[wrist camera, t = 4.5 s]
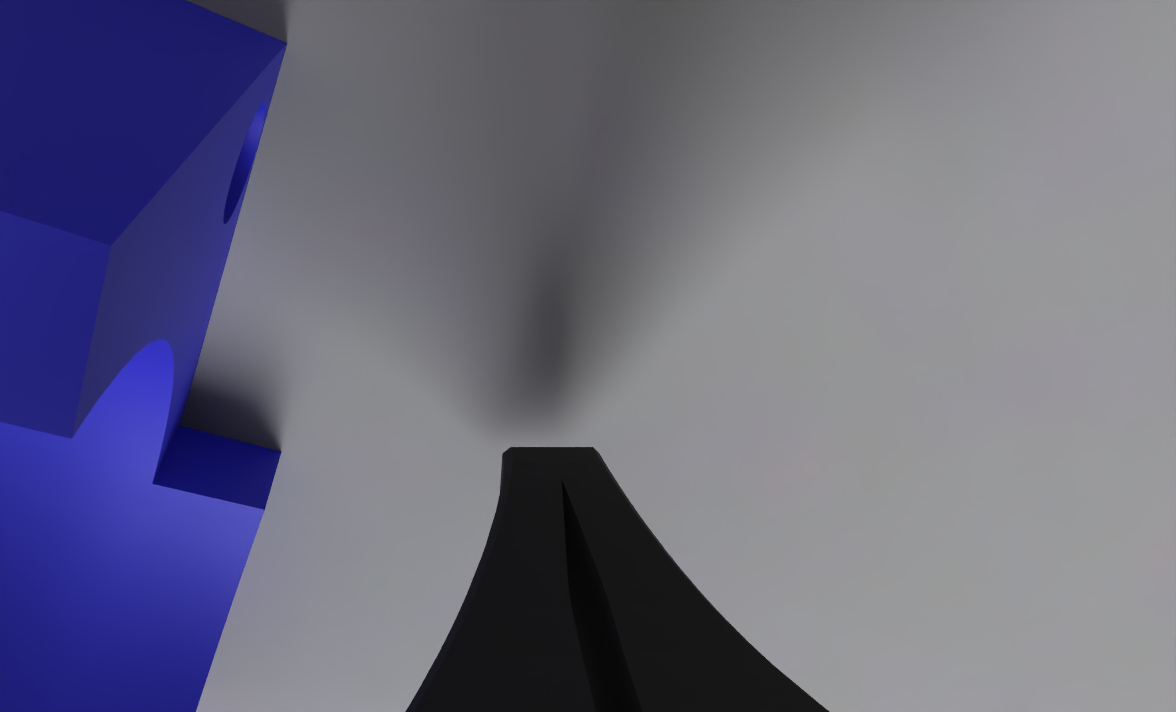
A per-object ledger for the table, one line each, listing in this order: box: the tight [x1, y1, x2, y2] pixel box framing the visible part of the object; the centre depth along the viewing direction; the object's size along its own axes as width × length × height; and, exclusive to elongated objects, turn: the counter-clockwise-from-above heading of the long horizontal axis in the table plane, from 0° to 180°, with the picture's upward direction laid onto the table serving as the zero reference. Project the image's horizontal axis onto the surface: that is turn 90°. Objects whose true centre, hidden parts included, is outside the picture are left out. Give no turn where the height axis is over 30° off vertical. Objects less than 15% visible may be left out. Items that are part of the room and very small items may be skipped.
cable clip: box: [0, 0, 287, 712], centre depth 10 cm, size 12×4×6 cm, turn 154°
